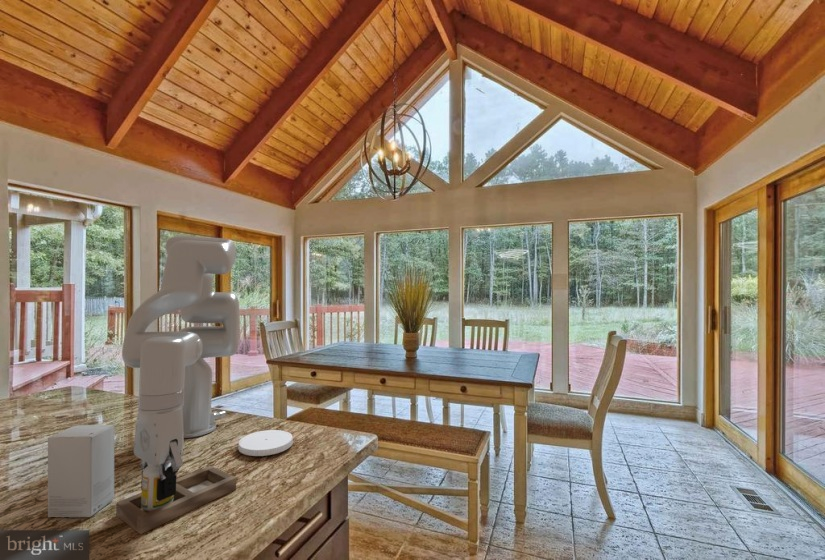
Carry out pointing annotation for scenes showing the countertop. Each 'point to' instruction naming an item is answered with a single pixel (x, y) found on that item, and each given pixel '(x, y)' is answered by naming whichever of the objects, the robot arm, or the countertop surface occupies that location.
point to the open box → (177, 499)
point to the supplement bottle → (152, 488)
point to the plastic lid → (265, 443)
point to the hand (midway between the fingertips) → (158, 491)
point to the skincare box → (80, 470)
